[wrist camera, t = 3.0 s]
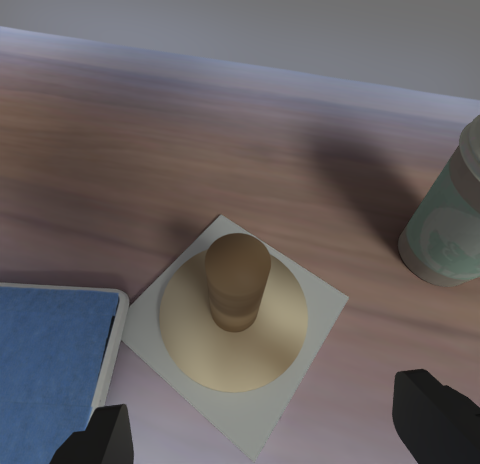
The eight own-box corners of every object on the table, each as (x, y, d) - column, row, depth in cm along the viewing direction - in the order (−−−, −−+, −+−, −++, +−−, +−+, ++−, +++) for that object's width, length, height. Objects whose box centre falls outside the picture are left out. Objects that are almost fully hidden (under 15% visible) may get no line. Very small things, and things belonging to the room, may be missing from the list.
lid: (223, 228, 25) (222, 157, 18) (330, 299, 22) (375, 246, 15) (130, 325, 20) (84, 277, 14) (249, 432, 17) (264, 436, 11)
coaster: (221, 217, 26) (221, 214, 26) (347, 299, 22) (349, 297, 22) (110, 329, 20) (108, 327, 20) (253, 461, 17) (254, 462, 17)
